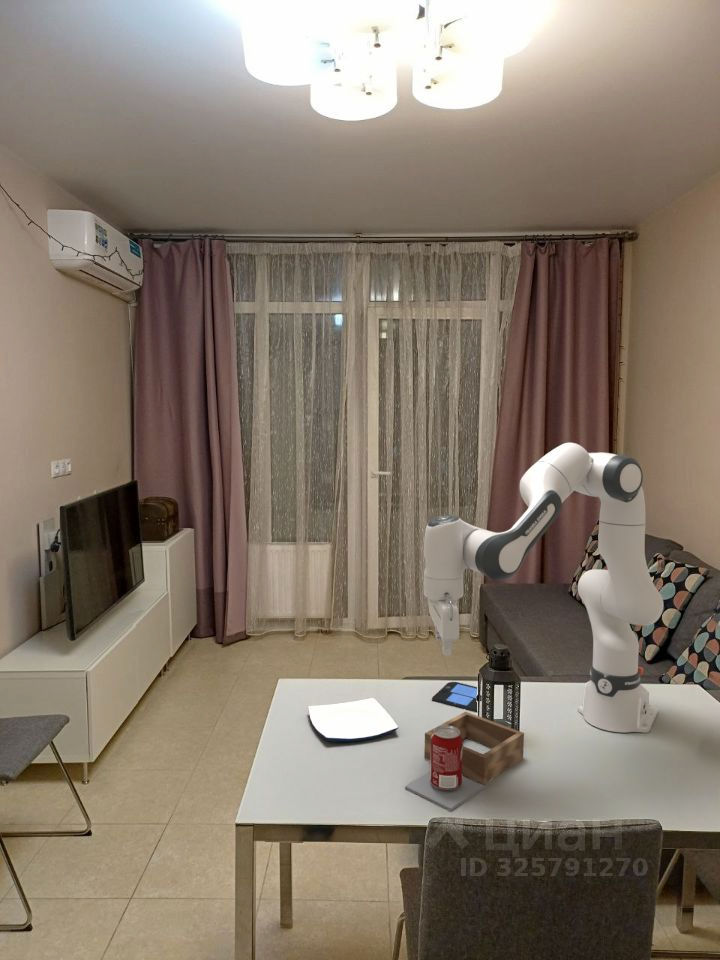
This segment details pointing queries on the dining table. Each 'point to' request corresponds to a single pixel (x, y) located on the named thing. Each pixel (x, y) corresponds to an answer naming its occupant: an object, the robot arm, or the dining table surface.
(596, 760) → the dining table surface
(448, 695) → the game console
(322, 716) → the plate
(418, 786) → the mat
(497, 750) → the box
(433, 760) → the soda can
